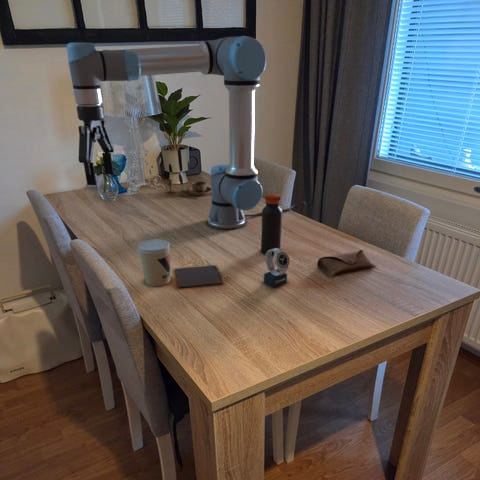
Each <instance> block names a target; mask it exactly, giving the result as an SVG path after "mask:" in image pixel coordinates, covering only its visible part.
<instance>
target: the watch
mask: <svg viewBox="0 0 480 480" xmlns="http://www.w3.org/2000/svg"><path fill="white" fill-rule="evenodd" d="M272 251H274V252H275V253H274V255H273V256H274V258H273V257H272V255H271V254H272ZM265 264H266V268H267V270H268V272H265V273H264V274H263V284H265V285H267V286H269V287H270V288H272V289H274V288H278V287H279V286H282V285H285V284H287V282H288V273H287V270H288V268H289V265H290V257H289V255H288V253H286V252H285V251H284V250H282V249H281V248H280V249H279V248H274V249H271V250H268V251H267V253H266V254H265ZM275 266H276V267H277V269H276V268H275Z"/></svg>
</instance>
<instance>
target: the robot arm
mask: <svg viewBox="0 0 480 480" xmlns="http://www.w3.org/2000/svg"><path fill="white" fill-rule="evenodd" d="M66 51H67V52H66V53H67V63H68V68H69V71H70V73H69V74H70V78H71V84H72V90H73V92H72V95H73V96H74V101H75V104H76V105H77V106H76V114H77V119H78V120H79V121H82V122H83V125H79V126H78V134H79V135H78V136H79V138H78V162H79V163H80V164H83V168H84V173H85V174H84V175H85V180H86V186H97V185H98V184H97V177H96V171H95V165H94V162H92V160H93V154H94V148H95V147H94V146H95V143H96V142H97V143H98V145H99V147H100V148H101V150H102V153H101V155H102V162H103V168H104V174H105V175H114V174H115V171H114V164H113V157H112V153H115V149H114V147H115V146H114V144H113V141H112V138H111V136H110V133H109V130H108V126H107V121H106V119H105V118H106V117H105V110H104V105H102V104H103V102H104V101H103V96H102V89H101V82H131V81H138V80H140V78H141V77H144V76H145V77H146V76H147V77H148V76H158V75H161V76H162V75H171V74H172V75H173V74H174V75H175V74H187V73H201V74H202V75H204V76H206V75H213V76H214V75H215V76H222V77H223V86H224V87H225V88H226V89H227V91H228V132H229V134H228V138H229V139H228V140H229V142H228V143H229V164H220V165H219V164H218V165H214V166H212V167H211V169H210V176H209V177H210V188H211V193H210V195H211V207H210V209H209V213H208V217H207V224H208V226H209V227H211V228H213V229H218V230H235V229H238V228H241V227H243V226H245V225H246V218H249V217H258V216H262V212H259V213H253V214H244V211H250V210H253V209H254V208H255V207H257V205H258V204H259V203H260V202H261V200H262V198H263V187H262V185H261V183H260V182H259V180H258V178H259V177H258V176H259V175H258V174H259V173H258V172H259V171H258V169H257V168H256V167H255V165H254V162H255V161H254V160H255V159H254V157H255V156H254V155H255V104H256V103H255V100H256V99H255V98H256V97H255V95H256V94H255V93H256V90H257V89H258V88H259V87H260V84H261V83H260V80H261V79H260V77H262V75H263V73H264V72H265V69H266V67H267V56H266V50H265V48H264V46H263V45H262V44H261V42H260V41H259V40H258V39H256V38H254V37H253V36H247V35H241V36H225V37H222V38H217V39H213V40H207V41H206V40H205V41H203V40H202V41H200V42H199V43H198V45H195V44H194V45H182V46H180V45H178V46H162V47H161V46H160V47H159V46H158V47H144V48H143V47H142V48H125V49H102V50H97V48H96V46H95V43H93V42H69V43H68V44H67V45H66ZM300 205H304V206H307V205H308V204H307V203H306V202H305V201H300V202H298V203H296V204H293V205H291V206H290V207H288V208H285V209H282V213H284V212H289V211H291V209H293V208H296V207H298V206H300Z"/></svg>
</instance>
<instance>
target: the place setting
mask: <svg viewBox="0 0 480 480" xmlns="http://www.w3.org/2000/svg"><path fill="white" fill-rule="evenodd" d="M173 184H174V182H173V179H167V186H168V187H169V191H167V193H168V194H174V193H175V192H174V191H173V189H172V186H173ZM187 193H188V194H189V195H185V194H182V193H179V195H180V196H182V197H187V198H191V199H195V197H194V196H196V197H202V196H203V197H204V196H207V195H211V187H209V186H207V182H206V181H200V180H199V181H193V182H192V184H191V187H189V188H188V189H187ZM190 195H191V196H190Z"/></svg>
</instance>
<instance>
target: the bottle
mask: <svg viewBox="0 0 480 480" xmlns="http://www.w3.org/2000/svg"><path fill="white" fill-rule="evenodd" d="M264 200H265V206H264V207H263V208H262V211H261V213H262V215H261V237H260V238H261V239H260V251H261V253H262V254H264V255H266V253H267V251H268V250H271V249H274V248H279V249H281V241H282V224H283V223H282V222H283V212H282V210H283V209H282V208H281V207H280V204H281V194H278V193H267V194H265V199H264ZM274 253H275V252H274V251H272V254H271V256H274Z"/></svg>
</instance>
